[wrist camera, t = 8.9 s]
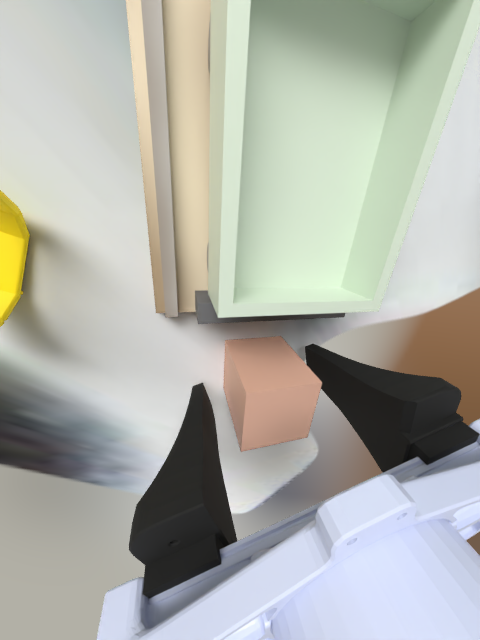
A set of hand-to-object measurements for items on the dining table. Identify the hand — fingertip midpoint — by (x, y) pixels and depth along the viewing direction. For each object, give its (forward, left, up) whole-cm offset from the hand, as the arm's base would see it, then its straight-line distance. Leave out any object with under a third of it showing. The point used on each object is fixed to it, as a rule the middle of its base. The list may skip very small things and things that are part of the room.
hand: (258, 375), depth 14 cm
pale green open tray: (0, -11, 0) cm, 11 cm away
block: (0, 0, -2) cm, 2 cm away
